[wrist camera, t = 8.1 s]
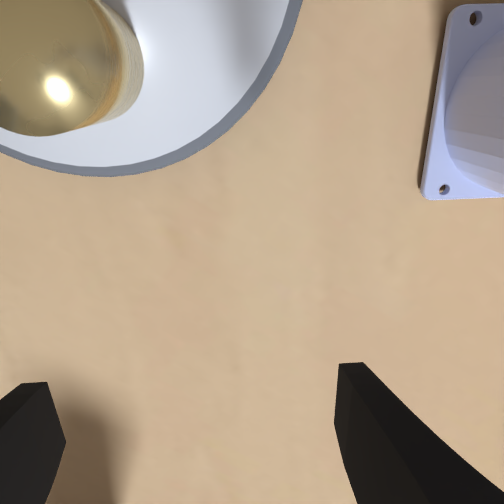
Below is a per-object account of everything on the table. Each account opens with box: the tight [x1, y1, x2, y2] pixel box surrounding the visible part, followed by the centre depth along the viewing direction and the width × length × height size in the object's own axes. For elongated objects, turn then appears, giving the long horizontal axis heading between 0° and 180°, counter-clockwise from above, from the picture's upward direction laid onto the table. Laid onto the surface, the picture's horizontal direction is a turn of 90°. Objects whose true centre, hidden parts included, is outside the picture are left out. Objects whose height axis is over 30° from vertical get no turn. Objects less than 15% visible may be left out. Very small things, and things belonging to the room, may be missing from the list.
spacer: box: [0, 0, 144, 137], centre depth 11 cm, size 4×4×4 cm
